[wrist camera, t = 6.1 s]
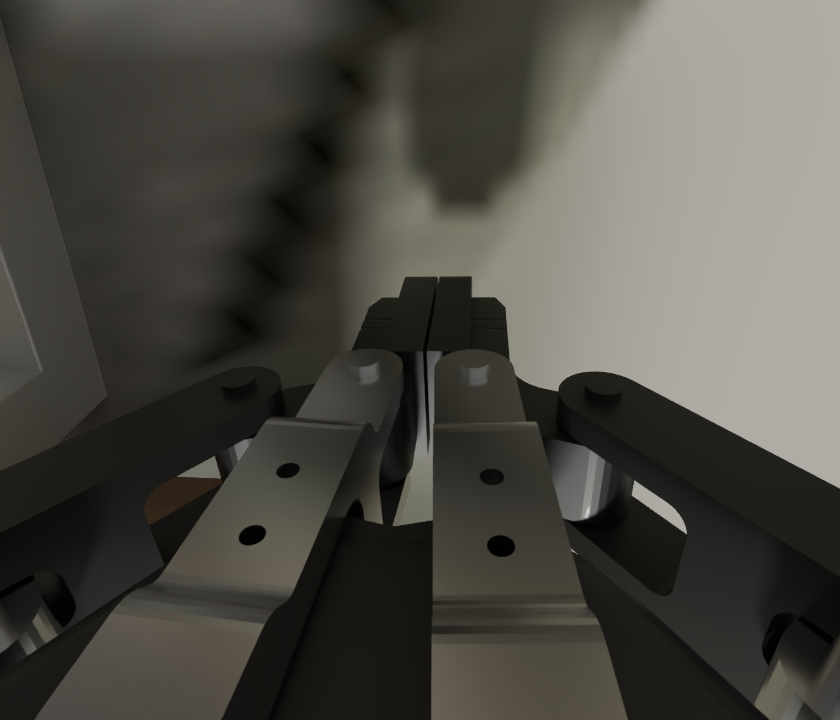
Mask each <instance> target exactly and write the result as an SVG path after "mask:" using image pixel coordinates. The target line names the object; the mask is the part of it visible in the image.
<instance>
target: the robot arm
mask: <svg viewBox="0 0 840 720" xmlns="http://www.w3.org/2000/svg"><path fill="white" fill-rule="evenodd" d="M430 441H431V442H430ZM429 442H430V443H431V456H433V520H432V521H426V522H419V523H413V524H406V525H401V521H402V517H403V513H404V510H405V506H406V502H407V499H408V495H409V491H410V487H411V478H410V470H411V468H412V465H413V459H414V456H428V449H429ZM213 456H215V458H216V461H217V465H218V469H219V472H220V475H221V479H222V484H220V485H218V486H216V487H215V488H213V489H211V490H210V491H208V492H206V493H204V494H203V495H201V496H199V497H197V498H196V499H194V500H192V501H190V502H189V503H187V504H185V505H183V506H182V507H180V508H178V509H177V510H175V511H173V512H171V513H170V514H168V515H166V516H164V517H163V518H161V519H159V520H157V521H156V522H154V523H152V524H150V525H149V524H148V521H147V519H146V516H145V512H144V508H145V503H146V501H147V499H148V497H149V495H150V494H151V493H152V492H153V491H154V490H155V489H156V488H157V487H158V486H160V485H161V484H163V483H165V482H167V481H169V480H171V479H172V478H174V477H176V476H178V475H180V474H181V473H184V472H185V471H187V470H189V469H191V468H193V467H195V466H196V465H198V464H200V463H202V462H204V461H206V460H208V459H210V458H211V457H213ZM634 480H635V481H637V482H638V483H639V484H641V485H642V486H644V487H645V488H647V489H648V490H650V491H651V492H653V493H654V494H656V495H657V496H659V497H660V498H661V499H663V500H664V501H666V502H667V503H669V504H670V505H671V506H672V507H673V508H675V509H676V511H677V512H678V513H679V514H680V516H681V517H682V519H683V521H684V523H685V526H686V530H687V534H685V533H684V532H683V531H681V530H679V529H678V528H677V527H675V526H674V525H673V524H671V523H670V522H668V521H667V520H666V519H664V518H663V517H661V516H660V515H658V514H657V513H655V512H654V511H653V510H651V509H650V508H649V507H647V506H646V505H644V504H643V503H641V502H640V501H639V500H637V499H636V498H634V497H633V496H632V490H633V485H634ZM571 549H573V550H574V551H575V552H576V553H577V554H576V553H574V552H572V551H571ZM33 574H34V575H33ZM0 720H840V489H839V488H837V487H836V486H834V485H832V484H830V483H828V482H826V481H824V480H822V479H820V478H818V477H816V476H815V475H813V474H811V473H809V472H806V471H805V470H803V469H801V468H799V467H797V466H795V465H794V464H791V463H790V462H788V461H786V460H784V459H782V458H780V457H778V456H776V455H774V454H772V453H770V452H768V451H766V450H765V449H763V448H761V447H759V446H757V445H755V444H753V443H751V442H749V441H747V440H746V439H744V438H742V437H740V436H738V435H736V434H734V433H732V432H730V431H728V430H727V429H725V428H723V427H721V426H719V425H717V424H715V423H713V422H711V421H709V420H707V419H705V418H703V417H701V416H700V415H698V414H696V413H694V412H692V411H690V410H688V409H686V408H684V407H682V406H680V405H679V404H677V403H675V402H673V401H671V400H669V399H667V398H665V397H663V396H661V395H659V394H657V393H656V392H654V391H652V390H650V389H648V388H646V387H644V386H642V385H640V384H638V383H636V382H635V381H633V380H631V379H628V378H626V377H623V376H620V375H616V374H613V373H607V372H583V373H578V374H575V375H572V376H570V377H568V378H566V379H565V380H564V381H562V383H561V384H560V386H559V391H558V392H557V391H552V390H548V389H543V388H539V387H536V386H533V385H530V384H528V383H526V382H524V381H523V380H521V379H519V378H518V377H517V376H516V375H515V371H514V367H513V365H512V363H511V362H510V359H509V347H508V335H507V323H506V310H505V307H504V306H503V305H502V304H501V303H500V302H499V301H498V300H497V299H496V298H494V297H472V276H462V277H440V278H439V283H438V277H405V279H404V282H403V286H402V289H401V292H400V295H399V298H381V299H380V300H379V301H377V302H376V303H374V304H373V305H372V306H370V307H369V309H368V312H367V314H366V317H365V321H363V324H362V326H361V330H360V331H359V334H358V336H357V339H356V341H355V343H354V346H353V348H352V351H349V352H346V353H343V354H341V355H339V356H337V357H335V358H334V359H332V360H331V361H330V362H329V363H328V365H327V366H326V368H325V370H324V371H323V373H322V374H321V376H320V378H319V379H318V381H317V383H315V384H311V385H306V386H300V387H295V388H289V389H283V390H282V386H281V381H280V377H279V376H278V374H277V373H275V372H274V371H272V370H270V369H267V368H263V367H241V368H236V369H231V370H228V371H225V372H222V373H220V374H217V375H215V376H213V377H210V378H208V379H206V380H204V381H201V382H199V383H197V384H195V385H192V386H190V387H188V388H186V389H183V390H181V391H179V392H177V393H174V394H172V395H170V396H168V397H165V398H163V399H161V400H159V401H156V402H154V403H152V404H150V405H147V406H145V407H143V408H141V409H138V410H136V411H134V412H132V413H129V414H127V415H125V416H123V417H120V418H118V419H116V420H114V421H111V422H109V423H107V424H104V425H102V426H100V427H98V428H95V429H93V430H91V431H89V432H86V433H84V434H82V435H80V436H77V437H75V438H73V439H71V440H68V441H66V442H64V443H62V444H59V445H57V446H55V447H53V448H50V449H48V450H46V451H44V452H41V453H39V454H37V455H35V456H32V457H30V458H28V459H26V460H23V461H21V462H19V463H17V464H14V465H12V466H10V467H8V468H5V469H3V470H1V471H0Z"/></svg>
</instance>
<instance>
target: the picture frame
mask: <svg viewBox="0 0 840 720" xmlns="http://www.w3.org/2000/svg"><path fill="white" fill-rule="evenodd" d="M106 397H107V391H106V388H105V384H104V381H103V377H102V374H101V370H100V367H99V363H98V360H97V356H96V353H95V349H94V345H93V342H92V338H91V335H90V331H89V328H88V324H87V321H86V317H85V314H84V310H83V307H82V303H81V300H80V296H79V292H78V289H77V285H76V282H75V278H74V275H73V271H72V268H71V264H70V261H69V257H68V254H67V250H66V247H65V243H64V239H63V236H62V232H61V229H60V225H59V222H58V218H57V215H56V211H55V208H54V204H53V201H52V197H51V194H50V190H49V186H48V183H47V179H46V176H45V172H44V169H43V165H42V162H41V158H40V155H39V151H38V148H37V144H36V141H35V137H34V133H33V130H32V126H31V123H30V119H29V116H28V112H27V109H26V105H25V102H24V98H23V95H22V91H21V87H20V84H19V80H18V77H17V73H16V70H15V66H14V63H13V59H12V56H11V52H10V49H9V45H8V42H7V38H6V34H5V31H4V27H3V24H2V20H1V17H0V471H1V470H3V469H5V468H8V467H10V466H12V465H14V464H17V463H19V462H21V461H23V460H26V459H28V458H30V457H32V456H35V455H37V454H39V453H41V452H44V451H46V450H48V449H50V448H53V447H55V446H56V445H57V444H58V443H59V442H60V441H61V440H62V439H63V438H64V437H65V436H66V435H67V434H68V433H69V432H71V431H72V430H73V429H74V428H75V427H76V426H77V425H78V424H79V423H80V422H81V421H82V420H83V419H84V418H85V417H86V416H87V415H88V414H89V413H90V412H91V411H92V410H93V409H94V408H95V407H96V406H97V405H98V404H100V403H101V402H102V401H103V400H104V399H105V398H106Z"/></svg>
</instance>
